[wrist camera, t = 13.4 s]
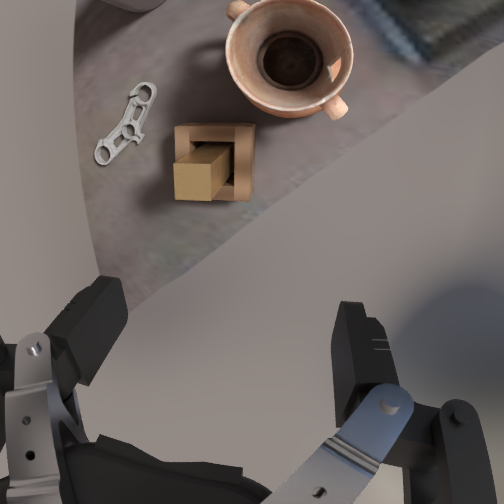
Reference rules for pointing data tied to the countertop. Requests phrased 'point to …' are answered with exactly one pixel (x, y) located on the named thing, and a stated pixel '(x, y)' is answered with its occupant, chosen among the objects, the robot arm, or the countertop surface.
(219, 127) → the walnut block
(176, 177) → the tan wooden square peg
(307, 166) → the countertop surface
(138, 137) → the bracket
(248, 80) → the ceramic jug
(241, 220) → the countertop surface
